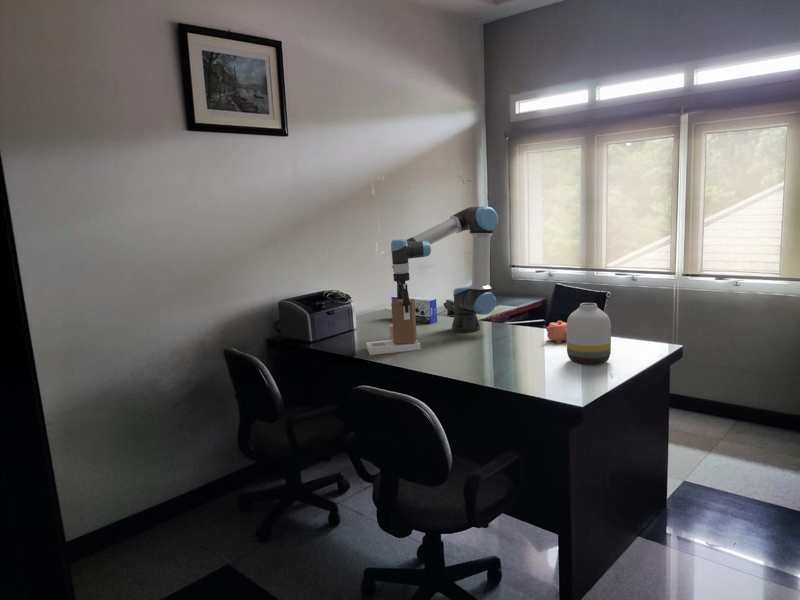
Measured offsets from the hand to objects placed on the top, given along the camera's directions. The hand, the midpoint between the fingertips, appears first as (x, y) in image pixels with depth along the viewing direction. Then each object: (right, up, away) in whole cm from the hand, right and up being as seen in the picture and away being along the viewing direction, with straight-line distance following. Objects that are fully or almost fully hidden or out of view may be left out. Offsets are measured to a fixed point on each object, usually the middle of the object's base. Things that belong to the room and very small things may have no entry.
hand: (404, 316), depth 265 cm
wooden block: (+1, -12, +2) cm, 12 cm away
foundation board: (-5, -16, +1) cm, 16 cm away
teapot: (+73, -12, -3) cm, 74 cm away
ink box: (+6, -5, +65) cm, 65 cm away
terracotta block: (-4, -13, +19) cm, 23 cm away
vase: (+75, -18, -38) cm, 86 cm away
